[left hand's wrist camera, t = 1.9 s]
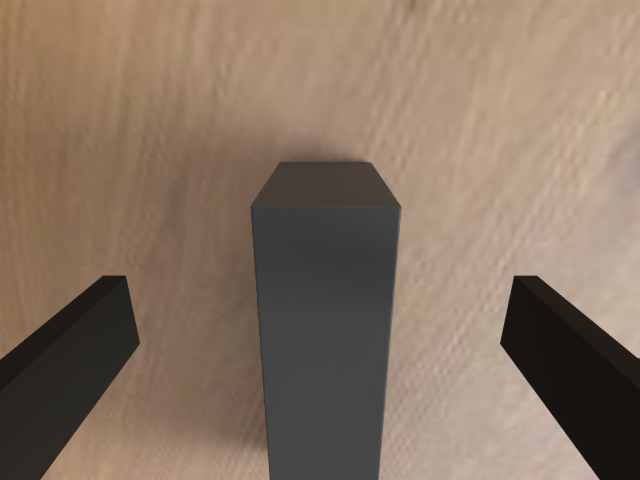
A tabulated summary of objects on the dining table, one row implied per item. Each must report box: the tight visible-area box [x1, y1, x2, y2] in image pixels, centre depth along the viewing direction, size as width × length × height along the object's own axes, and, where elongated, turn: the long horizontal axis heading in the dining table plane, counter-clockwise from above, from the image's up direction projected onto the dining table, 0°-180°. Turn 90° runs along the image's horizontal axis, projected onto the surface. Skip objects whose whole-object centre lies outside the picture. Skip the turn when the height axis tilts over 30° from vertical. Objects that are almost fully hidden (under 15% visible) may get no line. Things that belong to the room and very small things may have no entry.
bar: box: [251, 162, 401, 480], centre depth 22 cm, size 24×5×9 cm, turn 0°
